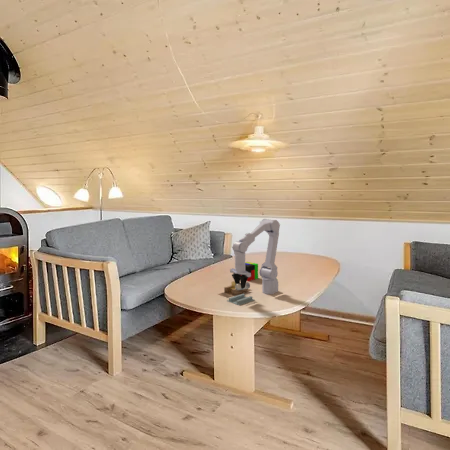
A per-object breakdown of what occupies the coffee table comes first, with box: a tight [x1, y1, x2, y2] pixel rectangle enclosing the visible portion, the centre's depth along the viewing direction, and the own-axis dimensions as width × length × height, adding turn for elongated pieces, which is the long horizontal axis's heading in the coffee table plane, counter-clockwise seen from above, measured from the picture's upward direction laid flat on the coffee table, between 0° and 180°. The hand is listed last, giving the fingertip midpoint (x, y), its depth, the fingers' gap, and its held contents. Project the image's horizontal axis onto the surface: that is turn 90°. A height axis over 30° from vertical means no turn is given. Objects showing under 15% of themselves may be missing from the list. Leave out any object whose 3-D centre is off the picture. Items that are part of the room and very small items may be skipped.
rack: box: [226, 293, 255, 306], centre depth 205 cm, size 12×10×3 cm
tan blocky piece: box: [230, 280, 236, 293], centre depth 218 cm, size 3×4×6 cm
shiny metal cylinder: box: [235, 281, 251, 290], centre depth 205 cm, size 8×4×4 cm, turn 132°
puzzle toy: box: [241, 261, 259, 282], centre depth 252 cm, size 10×10×10 cm
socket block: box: [217, 284, 253, 299], centre depth 219 cm, size 20×9×4 cm, turn 132°
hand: (240, 287), depth 204 cm, fingers closed on shiny metal cylinder, 4 cm apart
